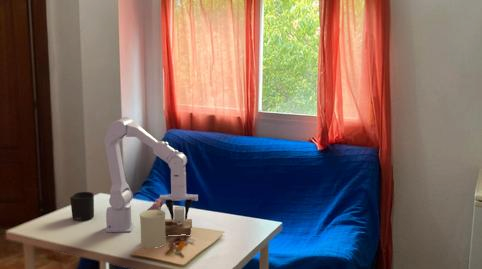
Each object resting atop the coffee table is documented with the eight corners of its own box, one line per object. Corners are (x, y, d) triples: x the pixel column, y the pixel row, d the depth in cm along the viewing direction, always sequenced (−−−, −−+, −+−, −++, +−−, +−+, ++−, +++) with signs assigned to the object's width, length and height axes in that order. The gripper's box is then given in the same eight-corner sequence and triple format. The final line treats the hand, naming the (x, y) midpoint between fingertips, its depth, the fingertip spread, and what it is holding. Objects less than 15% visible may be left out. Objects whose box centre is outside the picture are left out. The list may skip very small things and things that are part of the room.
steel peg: (174, 233, 196) (173, 209, 194) (175, 229, 200) (174, 206, 198) (184, 233, 196) (183, 209, 194) (185, 229, 200) (184, 206, 198)
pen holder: (68, 217, 213) (66, 194, 212) (89, 212, 219) (87, 190, 218) (77, 223, 206) (75, 200, 204) (98, 218, 212) (97, 195, 210)
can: (162, 249, 181) (161, 217, 178) (137, 248, 182) (136, 216, 180) (169, 239, 190) (168, 208, 187) (145, 238, 191) (144, 207, 189)
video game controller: (153, 218, 216) (160, 205, 214) (144, 213, 217) (151, 200, 215) (161, 211, 226) (168, 198, 224) (153, 206, 226) (159, 193, 224)
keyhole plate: (153, 236, 192) (153, 228, 192) (156, 227, 202) (156, 219, 201) (190, 236, 193) (190, 228, 192) (192, 226, 202) (191, 219, 202)
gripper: (158, 187, 190) (159, 222, 192) (196, 187, 190) (197, 221, 193) (160, 182, 197) (161, 215, 199) (197, 182, 197) (198, 215, 200)
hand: (179, 218), depth 196 cm, fingers open, 5 cm apart
